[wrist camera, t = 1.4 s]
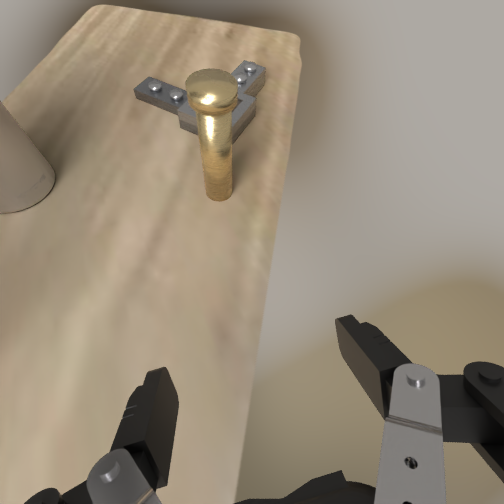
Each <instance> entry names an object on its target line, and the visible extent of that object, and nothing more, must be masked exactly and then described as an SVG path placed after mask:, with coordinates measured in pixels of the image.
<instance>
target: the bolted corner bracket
mask: <svg viewBox="0 0 504 504" xmlns="http://www.w3.org/2000/svg"><path fill="white" fill-rule="evenodd" d="M265 70H266V68H265V67H262V66H259V65H256V64H255V63H254V62H248V61H245V60H244V61H243V62H242V63H241V64H240V65H239V66H238V67H237V68H236V69H235V70H234V71H233V72H232V73H231V75H233V76H234V77H235V79H236V80H237V83H238V100H237V105H236V107H235V108H234V109H233V110H232V144H233V143H234V142H235V140H236V139H237V138H238V137H239V135H240V134H241V133H242V131H243V130H244V129H245V128H246V126H247V125H248V124H249V123H250V121H251V120H252V119H253V118H254V116H255V109H256V98H255V96H256V95H257V93H258V92H259V91H260V90H261V89H262V87H263V86H264V80H265ZM134 92H135V96H136V98H137V99H140V100H142V101H144V102H147V103H149V104H152V105H154V106H157V107H159V108H162V109H164V110H167V111H169V112H172V113H174V114H176V115H178V117H179V122H180V127H181V128H182V129H185V130H187V131H189V132H192V133H194V134H197V135H199V134H198V127H197V119H196V112H195V111H194V110H193V109H192V108H191V107H190V105H189V103H188V97H187V91H185V90H183V89H180V88H177V87H175V86H172V85H170V84H167V83H165V82H162V81H159V80H157V79H154V78H152V77H148V78H147V79H145V80H144V81H143V82H142V83H140V84H139V85H138V86H137V87H136V88H134Z"/></svg>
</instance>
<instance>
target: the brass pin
mask: <svg viewBox="0 0 504 504" xmlns="http://www.w3.org/2000/svg"><path fill="white" fill-rule="evenodd" d="M186 91H187V97H188V103H189V105H190V107H191V108H192V109H193V110H194V111H195V112H196V119H197V127H198V134H199V142H200V150H201V157H202V165H203V172H204V180H205V188H206V194H207V196H208V197H209V198H210V199H212V200H214V201H224V200H227V199H228V198H229V197H230V196H231V194H232V110H233V109H234V108H235V107H236V105H237V100H238V83H237V80H236V79H235V77H234V76H233V75H231V74H230V73H228V72H226V71H223V70H219V69H203V70H199V71H196V72H194V73H192V74H191V75H190V76H189V77H188V78H187V80H186Z"/></svg>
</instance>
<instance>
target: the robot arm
mask: <svg viewBox="0 0 504 504" xmlns="http://www.w3.org/2000/svg"><path fill="white" fill-rule="evenodd" d="M54 182H55V173H54V170H53V168H52V167H51V165H50V164H49V163H48V162H47V160H46V159H45V158H44V156H43V155H42V154H41V153H40V151H39V150H38V149H37V147H36V146H35V145H34V143H33V142H32V141H31V139H30V138H29V137H28V136H27V134H26V133H25V132H24V131H23V129H22V128H21V127H20V125H19V124H18V123H17V122H16V120H15V119H14V118H13V116H12V115H11V114H10V113H9V111H8V110H7V109H6V107H5V106H4V105H3V104H2V102H1V101H0V213H12V212H16V211H21V210H23V209H26V208H29V207H31V206H33V205H34V204H36V203H38V202H39V201H40V200H42V199H43V198H44V197H45V196H46V195H47V194H48V193H49V192H50V190H51V189H52V187H53V185H54ZM335 324H336V331H337V337H338V343H339V348H340V351H341V354H342V356H343V358H344V360H345V361H346V363H347V365H348V366H349V368H350V369H351V370H352V372H353V374H354V375H355V377H356V378H357V380H358V381H359V383H360V384H361V386H362V387H363V389H364V390H365V392H366V393H367V395H368V396H369V398H370V399H371V401H372V402H373V404H374V405H375V407H376V408H377V410H378V411H379V413H380V414H381V415H382V417H383V419H384V420H385V425H384V432H383V439H382V447H381V455H380V462H379V470H378V478H377V486H376V488H375V487H372V486H370V485H366V484H362V483H359V482H352V481H346V480H345V478H344V475H343V473H342V470H340V471H337V472H334V473H331V474H327V475H324V476H321V477H318V478H315V479H312V480H310V481H309V482H307V483H306V484H304V485H303V486H301V487H300V488H298V489H297V490H295V491H294V492H292V493H291V494H289V495H288V496H286V497H284V498H282V499H247V500H244V501H241V502H238V503H234V504H446V490H445V471H444V452H443V442H463V443H464V442H465V443H470V444H471V445H472V446H473V447H474V448H475V449H476V451H477V452H478V453H479V454H480V455H481V457H482V458H483V459H484V460H485V461H486V463H487V464H488V465H489V466H490V467H491V468H492V470H493V471H494V472H495V473H496V474H497V476H498V477H499V478H500V479H501V480H502V482H503V483H504V368H503V367H501V366H499V365H496V364H493V363H489V362H472V363H470V364H468V365H466V366H465V368H464V375H437V374H435V373H434V372H433V371H432V370H431V369H429V368H427V367H425V366H422V365H419V364H413V363H412V362H411V361H410V360H409V359H408V358H407V357H406V356H405V355H404V354H403V353H402V352H401V351H400V350H399V349H398V348H397V347H396V346H395V345H394V344H393V343H392V342H390V340H389V339H388V338H387V337H386V336H384V334H383V333H382V332H381V331H380V330H379V329H378V328H377V327H376V326H373V325H371V324H369V323H367V322H364V323H361V324H360V323H359V322H358V321H357V320H356V319H355V317H353V315H348V316H344V317H341V318H337V319H335ZM178 408H179V401H178V395H177V392H176V389H175V387H174V384H173V382H172V380H171V377H170V375H169V372H168V370H167V368H166V367H162V368H159V369H155V370H152V371H148V372H147V374H146V377H145V380H144V384H143V385H142V386H138V387H137V388H136V389H135V391H134V392H133V393H132V395H131V396H130V398H129V400H128V403H127V406H126V410H125V411H124V414H123V419H121V422H120V425H119V428H118V430H117V433H116V436H115V439H114V441H113V444H112V447H111V450H110V452H109V453H107V454H106V455H105V456H103V457H102V458H101V459H100V460H99V461H98V462H97V463H96V464H95V465H94V467H93V468H92V470H91V471H90V473H89V475H88V478H87V480H86V481H84V482H83V483H81V484H79V485H78V486H76V487H74V488H73V489H71V490H69V491H68V492H66V493H64V494H63V495H61V494H60V493H59V492H58V490H57V489H55V488H48V489H44V490H42V491H40V492H38V493H37V494H35V495H34V496H32V497H31V498H30V499H28V500H27V501H26V502H25V503H24V504H162V503H161V501H160V500H159V498H158V497H157V495H156V489H158V488H161V487H164V486H167V483H168V476H169V469H170V463H171V456H172V449H173V442H174V436H175V429H176V422H177V415H178Z"/></svg>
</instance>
